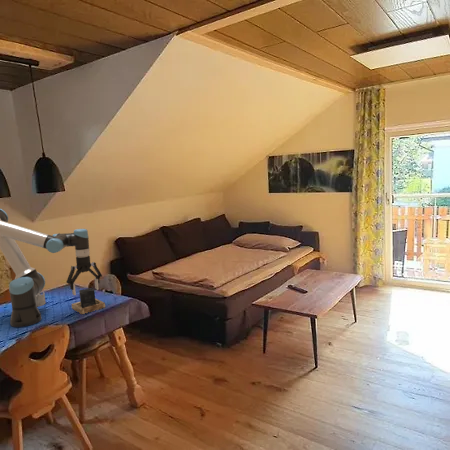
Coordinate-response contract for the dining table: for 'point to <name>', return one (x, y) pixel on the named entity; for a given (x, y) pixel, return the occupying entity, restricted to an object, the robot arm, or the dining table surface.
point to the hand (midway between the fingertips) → (85, 292)
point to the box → (87, 297)
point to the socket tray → (81, 310)
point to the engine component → (40, 299)
